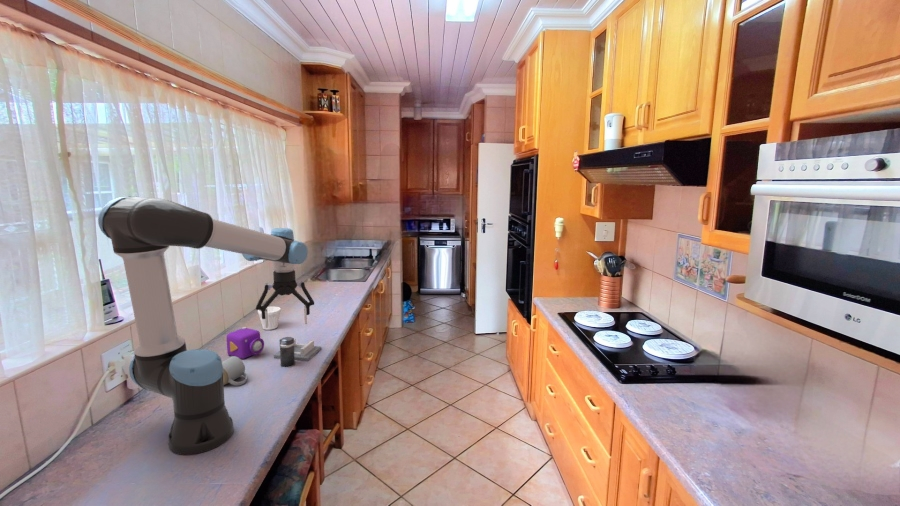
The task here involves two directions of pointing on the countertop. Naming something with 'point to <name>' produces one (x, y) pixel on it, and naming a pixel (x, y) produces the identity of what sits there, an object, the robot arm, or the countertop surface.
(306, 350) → the mount
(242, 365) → the ceramic mug
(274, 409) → the countertop surface
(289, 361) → the lens
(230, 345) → the toy camera
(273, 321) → the cup
